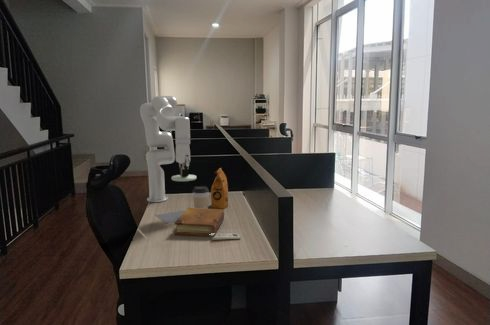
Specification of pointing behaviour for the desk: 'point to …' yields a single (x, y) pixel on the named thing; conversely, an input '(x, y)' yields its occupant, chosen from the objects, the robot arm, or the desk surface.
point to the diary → (199, 221)
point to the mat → (170, 216)
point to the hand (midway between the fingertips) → (184, 175)
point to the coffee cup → (200, 197)
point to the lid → (180, 178)
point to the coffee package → (219, 191)
